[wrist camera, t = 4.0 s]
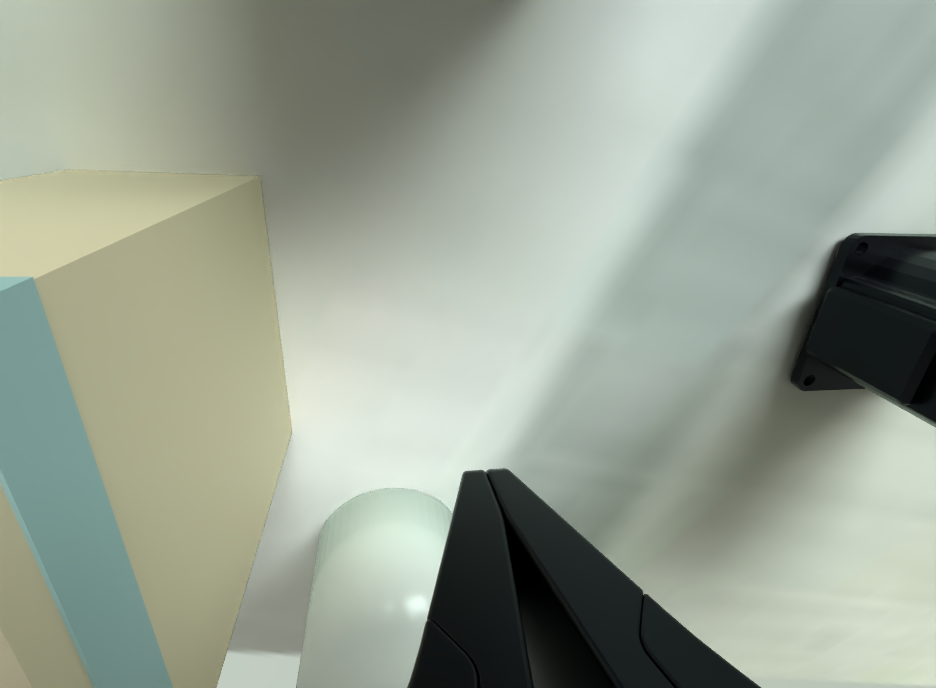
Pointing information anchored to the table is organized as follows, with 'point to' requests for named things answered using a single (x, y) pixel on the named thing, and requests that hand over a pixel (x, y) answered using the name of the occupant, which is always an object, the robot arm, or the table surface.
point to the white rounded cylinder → (373, 589)
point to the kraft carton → (133, 423)
